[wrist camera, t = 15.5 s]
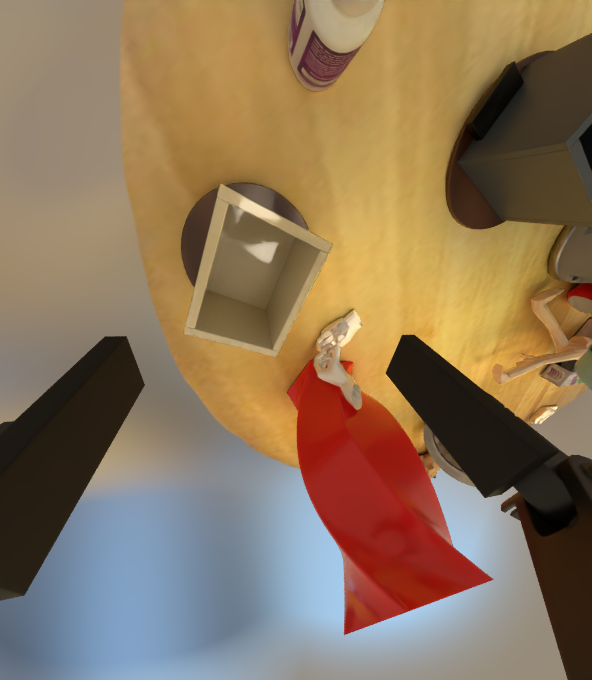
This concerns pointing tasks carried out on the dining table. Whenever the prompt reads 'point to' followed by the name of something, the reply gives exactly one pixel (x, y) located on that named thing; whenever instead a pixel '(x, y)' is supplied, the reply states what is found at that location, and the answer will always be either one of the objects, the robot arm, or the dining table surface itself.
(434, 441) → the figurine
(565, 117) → the slate bin
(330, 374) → the plaster hands
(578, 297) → the beverage can
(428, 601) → the vase
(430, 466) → the toy
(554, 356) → the human figure
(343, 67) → the pill bottle
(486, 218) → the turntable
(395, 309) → the dining table surface
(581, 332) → the cake pan box
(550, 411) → the whitish tan flat slab
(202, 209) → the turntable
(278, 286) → the cream bin
